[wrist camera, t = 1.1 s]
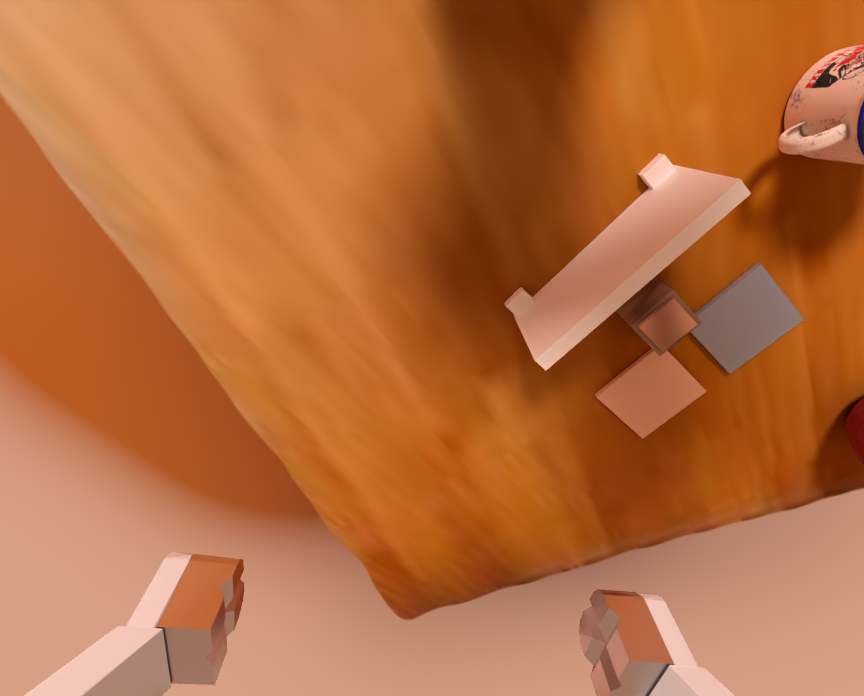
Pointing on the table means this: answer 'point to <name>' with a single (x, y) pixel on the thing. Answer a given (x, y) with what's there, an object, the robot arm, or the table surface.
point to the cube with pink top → (658, 316)
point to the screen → (624, 256)
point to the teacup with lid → (828, 110)
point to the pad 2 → (745, 318)
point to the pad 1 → (650, 392)
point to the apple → (856, 429)
